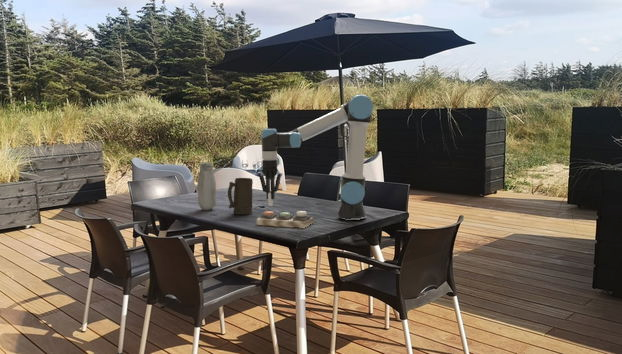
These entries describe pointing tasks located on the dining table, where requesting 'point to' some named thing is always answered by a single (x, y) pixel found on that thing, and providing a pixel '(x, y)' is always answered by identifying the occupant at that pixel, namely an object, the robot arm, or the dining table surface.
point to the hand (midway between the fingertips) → (270, 205)
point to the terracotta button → (269, 213)
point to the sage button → (285, 214)
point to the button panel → (284, 221)
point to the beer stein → (241, 196)
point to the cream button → (301, 213)
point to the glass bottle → (206, 187)
